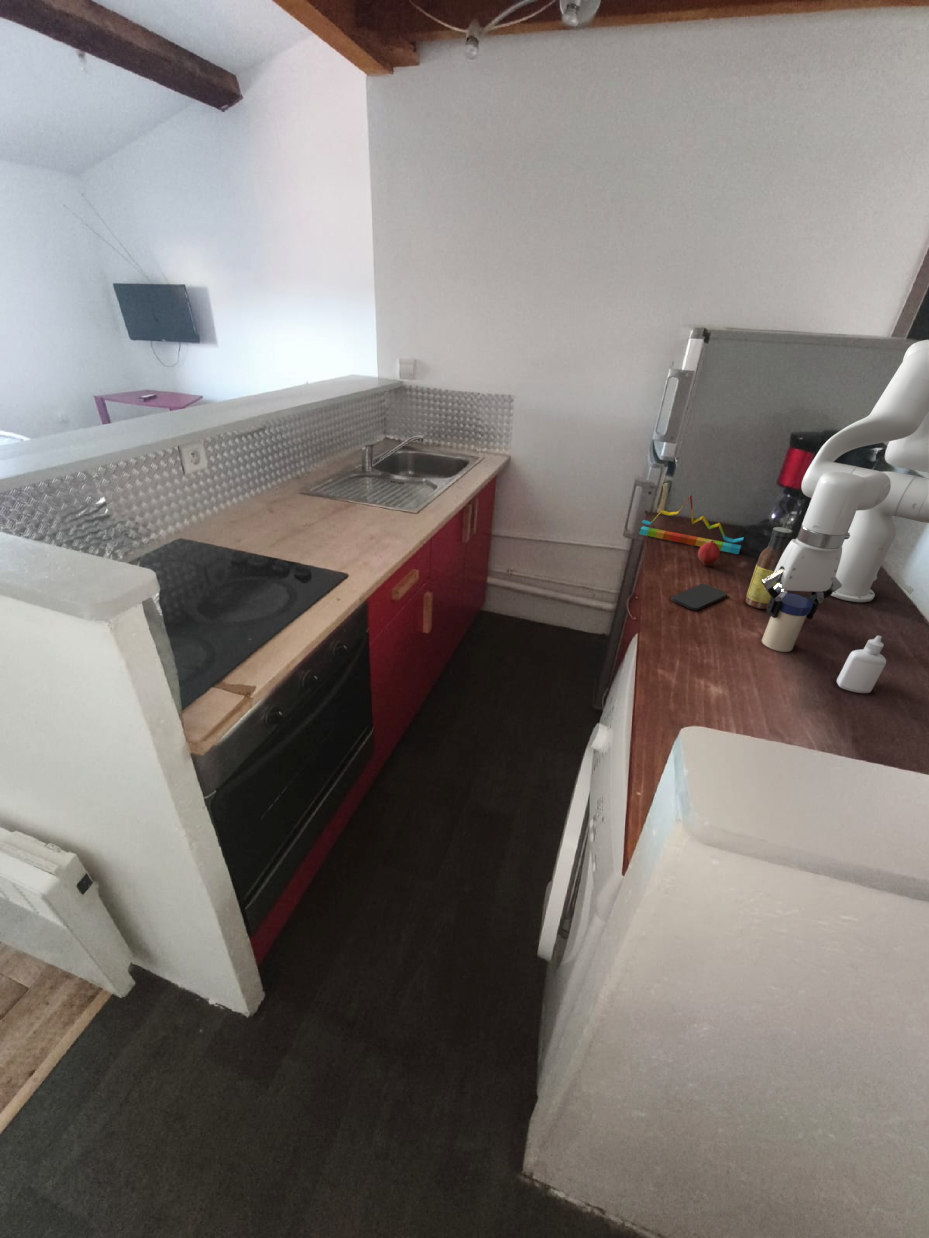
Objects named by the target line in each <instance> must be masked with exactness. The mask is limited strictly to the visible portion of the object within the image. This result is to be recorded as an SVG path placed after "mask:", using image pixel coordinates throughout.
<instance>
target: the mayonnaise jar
mask: <svg viewBox="0 0 929 1238" xmlns="http://www.w3.org/2000/svg"><path fill="white" fill-rule="evenodd" d="M806 617H807V615H805V616H796V615H791V614H787V613H784V612H782V611H779V614H778V616H777V617H776V618H773V617H772V616H771V615H770V617H769V619H768V622H767V625H766V627H765V631H764V633H763V636H762V637H761V643H762V644H763V645H764V646H765V647H767V648H769V649H771V650H773V651H777V652H782V653H787V652H791V651H793V649H794V647H795V645H796V643H797V640H798V637H799V636H800V633H801V631H802V629H803V626H804V624H805V621H806V619H807V618H806Z"/></svg>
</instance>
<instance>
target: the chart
mask: <svg viewBox="0 0 929 1238" xmlns="http://www.w3.org/2000/svg"><path fill="white" fill-rule="evenodd" d="M688 501H689V502H690V516H691V517H690V518H691V525H694V524H696V523H698V522H699V521H702V522H703V523H704V524H705V526H706V528H707V529H708V530H711V529H716V528H718V529H719V531H720V534H721V536H722V539H723V540H724V541H720V540H715V543H716V544H717V545H718V547H719V549H720V552H724V553H725V552H726V553H729V554H730V553H731V554H734V555H739V554H740V550H741V547H742V545H741V544H736V543H740V542H744V538H745V537H744V536H743V537H739V538H732V537H728V536H726V535H725V533H724V529H723V527H722V524H721V523H720V522H718V523H715V524H712V525H710V524H709V522H708V519H707V518H706V517H705V515H702V516H700V517H698V518H696V519H694V508H693V507H694V506H693V495H692V494H691V495H690V496H689V497H688V498H687V500H686V501H685V503H684V504H683V505H682V506H681V508H680V509H679V510H678V511H671V512H670V511H667V510H664V509H661V510H660V511H659V513H658V514H657V515H656V516H655V518H654V519H653V520H652V521H648V520H646V519H643V520H642V521H641V524H643V525H642V526H641V527H640V529H639V532H638V534H639V535H640V536H641V535H642V536H647V537H650V538H655V539H660V540H665V541H671V542H675V543H681V544H686V545H689V546H696V547H699V548H700V547H701V546H702V545H703V544H705V543H707V542H710V541H711V540H712V539H709V538H704V537H701V536H700V537H699V536H694V535H689V534H684V533H678V532H674V531H669V530H662V529H659V528H653V527H649V526H651V524H652V523H653V522H654V521H655V520H656V519H657V517H659V515H660V514H662V515H665V516H668V517H671V516H677V515H678V514H679V513H680V511H681V510H682V509H683V508H684V506H685V505H686V504H687V502H688ZM644 525H645V526H644Z"/></svg>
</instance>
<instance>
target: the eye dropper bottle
mask: <svg viewBox="0 0 929 1238" xmlns="http://www.w3.org/2000/svg"><path fill="white" fill-rule="evenodd" d="M883 648H884V643H883V641H882V636H881V635H876V636H875V637H874V638H871V639H868V640H867V641H866V644H865V646H864V647H863V648H862V649H855V650H852V651H850V653H849V655H848V656H847V658H846V660H845V663H844V664H843V666H842V668H841V671H840V672H839V675H838V676H837V678H836V684H837V685H838V687H839V688H841V689H842V690H845V691H849V692H852V693H857V694H870V693H871V692H872V690H873V689H874V687H875V685H876V683H877V682H878V680H879V678H880V676H881V674H882V673H883V670H884V668H885V667H886V664H887V659H886V658H885V656H884V655H883V654H882V653H881V651H882V650H883Z"/></svg>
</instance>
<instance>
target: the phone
mask: <svg viewBox="0 0 929 1238" xmlns="http://www.w3.org/2000/svg"><path fill="white" fill-rule="evenodd" d="M727 596H728V593H727V592H726V591H723V590H721V589H720V588H719V589H718V588H716V587H714V586H711V585H709V584H706V583H701V584H698V585H695V586H694V587H693V586H692V587H691V588H688V589H687V590H684V591H681V592H679V593H677V594H675V595H673V596H671V601H672V602H674V603H676V604H679V605H681V606H683V607H685V608H687V609H689V610H691V611H699V610H701V609H703V608H706V607H707V606H710V605H712V604H714V603H717V602H718V601H721V600H723V599H724V598H726V597H727Z"/></svg>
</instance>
